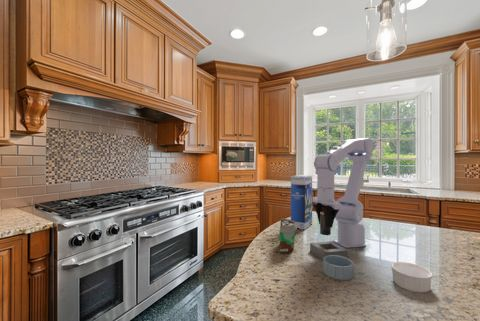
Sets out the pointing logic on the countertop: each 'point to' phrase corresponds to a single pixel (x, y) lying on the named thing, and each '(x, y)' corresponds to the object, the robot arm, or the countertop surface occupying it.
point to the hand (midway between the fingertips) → (325, 225)
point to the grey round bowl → (338, 267)
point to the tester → (327, 249)
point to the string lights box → (301, 200)
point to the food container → (287, 236)
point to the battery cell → (323, 225)
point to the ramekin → (412, 276)
